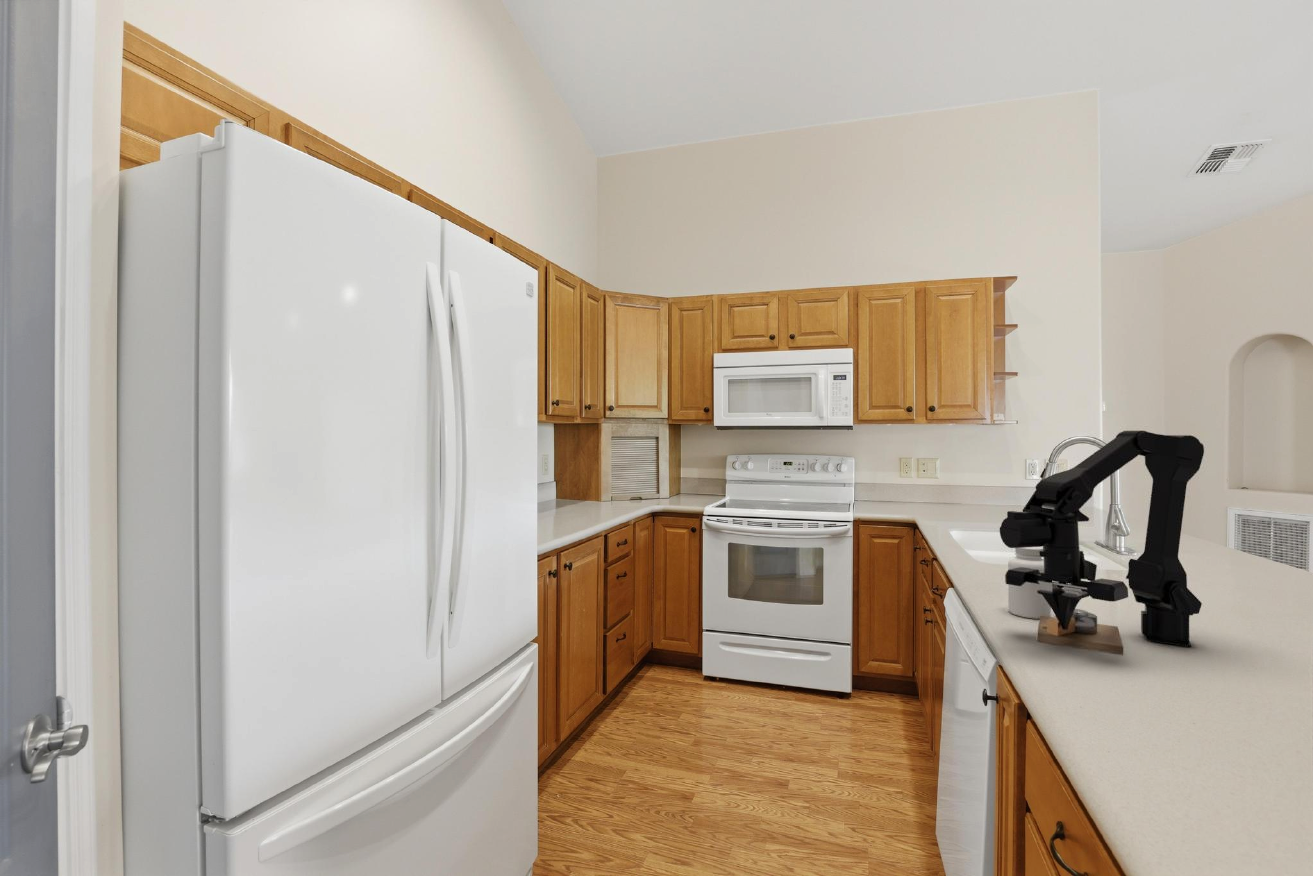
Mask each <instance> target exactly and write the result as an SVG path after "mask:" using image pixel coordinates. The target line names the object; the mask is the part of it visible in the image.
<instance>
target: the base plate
mask: <svg viewBox="0 0 1313 876" xmlns="http://www.w3.org/2000/svg"><path fill="white" fill-rule="evenodd" d="M1050 618H1053V617H1052V616H1050V617H1045V616H1040V619H1039V620H1038V627H1037V642H1041V643H1047V644H1048V643H1049V644H1053V645H1060V646H1065V647H1072V648H1077V649H1078V648H1079V649H1083V650H1091V651H1095V652H1096V651H1097V652H1102V653H1103V652H1104V653H1111V654H1116V655H1120V656H1124V645H1123V642H1122V641H1123V640H1122V638H1121V635H1120V630H1119V627H1118V626H1115V625H1109V624H1100V623H1097V633H1093V634H1085V633H1077V632H1071V633H1067V634H1064V635H1060V636H1056V635H1052V634H1049V633H1047V619H1050Z"/></svg>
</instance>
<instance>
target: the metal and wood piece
mask: <svg viewBox="0 0 1313 876" xmlns="http://www.w3.org/2000/svg"><path fill="white" fill-rule="evenodd" d="M1097 624H1098V615H1097V614H1095V613H1093V612H1092V613H1091V612H1090V611H1087V610H1084V609H1081V608H1080V609H1079V608H1075V610H1074V612H1073V615H1072V618H1071V620H1070V623H1069V626H1068V629H1067V630H1064V629H1062V626H1061V624H1060V623H1059V621H1058V619H1057V617H1056V616H1055V617H1052V618H1050V619H1047V633H1049V634H1052V635H1056V636H1060V635H1064V634H1067V633H1071V632H1077V633H1085V634H1093V633H1097Z"/></svg>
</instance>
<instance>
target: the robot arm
mask: <svg viewBox="0 0 1313 876" xmlns="http://www.w3.org/2000/svg"><path fill="white" fill-rule="evenodd" d="M1204 455H1205V447H1204V443H1202V442H1201V441H1200V439H1198V438H1197V437H1196V436H1193V435H1187V434H1185V435H1183V434H1182V435H1180V434H1178V435H1174V434H1173V435H1170V434H1161V433H1159V434H1158V433H1154V432H1150V431H1147V430H1122V431H1120V432H1118V434H1117V435H1115V437H1114V439H1112V440H1111V441H1109V442H1107V443H1106V444H1105V445H1103V446H1102V447H1100V448H1099V449H1097V450H1096V451H1094V453H1092V454H1091V455H1090V456H1088V457H1086V458H1085V459H1083V460H1082V461H1081V462H1080V463H1078V464H1077V465H1075V466H1073V467H1072V468H1070V469H1067V470H1063V471H1060V472H1056V473H1054V474H1051V475H1049V476H1047V477H1045V478H1043V479H1041V480H1039V481H1038V483H1037V484H1036V485H1035V490H1034V492H1033V494H1032V495H1031V497H1030V499H1029V500H1028V501H1027V503H1026V504H1025V506H1023V509H1022V511H1014V510H1010V511H1009V510H1008V511H1006V514H1007V516H1006V518H1004V519H1003V520H1002V521H1001V525H1000V526H999V536H1000V538H1001V541H1002V543H1003V544H1004V545H1005V546H1006V547H1008V548H1010V549H1015V548H1024V547H1042V548H1043V551H1039V553H1040V557H1042V559H1043V560H1044V572H1042V573H1040V572H1039V570H1038V569H1031V568H1024V567H1019V568H1014V569H1009V570H1008V569H1007V571H1006V572H1005V575H1004V578H1005V579H1004V583H1005V585H1008V584H1009V585H1015V586H1022V585H1023V584H1024V583H1025V582H1029V583H1035V584H1039V590H1038V591H1037V593H1038V594H1041V595H1043V597H1044V598H1045V600H1046V601H1047V603H1048V604H1049V606H1050V607H1051V611H1052V612H1053V613H1054V616H1055V617H1057V619H1058V621H1059V623H1060V624H1061V626H1062V629H1064V630H1067V629H1068V626H1069V623H1070V620H1071V618H1072V615H1073V612H1074V610H1075V609H1077V606H1078V604H1079V603H1080V601H1081V600H1082V599H1084V598H1088V597H1090V598H1091V599H1093V600H1098V601H1099V600H1100V601H1106V602H1118V601H1121V600H1123V599H1128V598H1129V589H1131V591H1132V594H1133V597H1134V600H1135V602H1136V603H1138V604H1143V605H1144V610H1141V611H1140V632H1141V634H1142V635H1143V636H1144V637H1145V640H1146V641H1148V642H1153V643H1154V642H1155V643H1161V644H1168V645H1176V646H1181V647H1187V648H1188V647H1189V648H1191V647H1192V643H1191V641H1190V616H1194V615H1198V614H1199V613H1200V612H1201V608H1202V605H1203V603H1202V602H1201V601H1200V600H1199V598H1197V596H1195V594H1194V593H1192V591H1191V590H1190V589H1189V588H1188V578H1187V577H1188V576H1187V572H1186V570H1185V568H1184V567H1183V565H1182V563H1181V561H1180V559H1179V551H1180V550H1179V549H1180V542H1181V536H1182V535H1181V533H1182V527H1183V518H1184V509H1185V501H1186V492H1187V485H1188V483H1189V482H1190V480H1191V479H1192V478H1193V477H1194V476H1195V475H1196V474H1197V473H1198V472H1199V471H1200V468H1201V464H1202V462H1203V458H1204ZM1138 456H1142V457H1144V465H1145V467H1146V470H1147V471H1148V473H1149V475H1150V476H1151V478H1152V485H1151V492H1150V500H1149V501H1150V502H1149V510H1148V517H1147V519H1148V520H1147V527H1146V534H1145V535H1146V536H1145V543H1144V550H1143V553H1142V554H1140V556H1138V558H1137V559H1136V558H1129V560H1128V571H1127V574H1126V576H1125V579H1126V580H1128V586H1127V585H1126V584H1125V582H1124V581H1122V580H1121V581H1120V580H1114V579H1108V578H1098V579H1096V574H1097V567H1098V565H1097V564H1096V563H1093V562H1092V561H1089V560H1088V559H1085V554H1084V551H1083V550H1080V534H1079V532H1080V531H1079V522H1080V523H1081V522H1082V523H1083V522H1089V521H1090V517H1088V516H1087V515H1086V514H1084V513H1083V512H1081V510H1080V509H1081V508H1082V507H1083V506H1084V505H1086V503H1087V502H1088V501H1089V500H1090V499H1091V498H1092V496H1093V493H1094V490H1095V488H1096V487H1097V486H1099V484H1101V483H1102V482H1104V481H1105V480H1106V479H1107V478H1109V477H1110V476H1112V475H1113V474H1114V473H1115V472H1118V471H1119V470H1120V469H1121V468H1123V467H1124V466H1126V465H1127V464H1128V463H1130V462H1131V461H1132V460H1134V459H1136V458H1137V457H1138ZM1128 587H1129V589H1128Z"/></svg>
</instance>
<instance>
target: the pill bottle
mask: <svg viewBox="0 0 1313 876" xmlns="http://www.w3.org/2000/svg"><path fill="white" fill-rule="evenodd" d="M1014 549H1015V551H1014V552H1015V553H1014V555H1015V556H1014V557H1011V558H1009V561H1008V564H1007V565H1008V566H1007V571H1008V570H1009V569H1014V568H1019V567H1024V568H1031V569H1038V570H1039V572H1040V573H1042V572H1044V559H1043V557H1040V553H1039V551H1043V546H1042V547H1024V548H1014ZM1007 586H1008V589H1007V591H1008V594H1007V595H1008V597H1007V598H1008V611H1009V613H1011V614H1012V615H1015V616H1018V617H1021V618H1027V619H1035V620H1037V619H1040V616H1045V617H1051V614H1052V613H1051V611H1052V609H1051V607H1050V606H1049V604H1048V603H1047V601H1046V600H1045V598H1044V597H1043V595H1041V594H1038V593H1037V591H1038V590H1039V584H1035V583H1029V582H1025V583H1024V584H1023V585H1022V586H1015V585H1009V584H1007Z"/></svg>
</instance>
